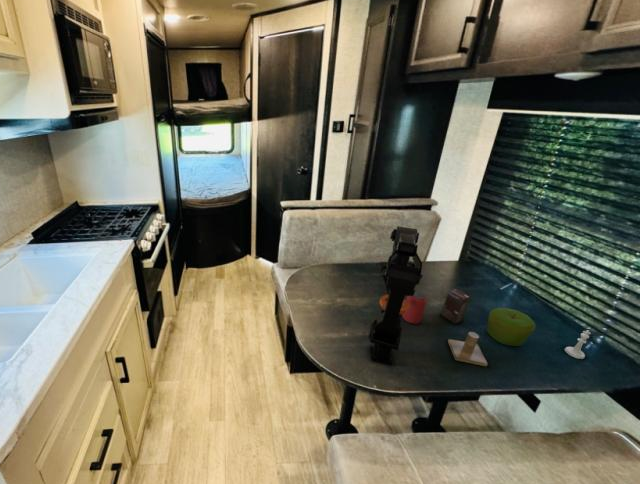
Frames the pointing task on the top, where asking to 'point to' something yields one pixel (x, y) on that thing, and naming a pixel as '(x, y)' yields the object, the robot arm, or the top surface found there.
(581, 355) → the chess piece
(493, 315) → the apple
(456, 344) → the square plate with peg
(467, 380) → the top surface
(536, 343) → the top surface
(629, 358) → the top surface
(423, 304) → the beer can
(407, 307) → the ring
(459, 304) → the box
